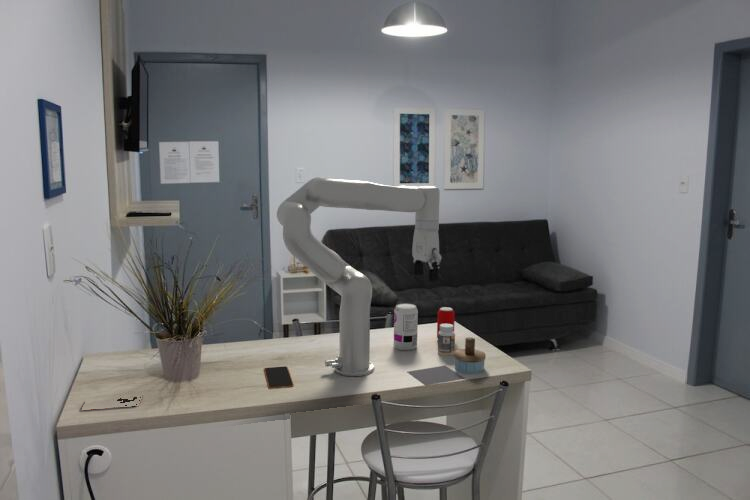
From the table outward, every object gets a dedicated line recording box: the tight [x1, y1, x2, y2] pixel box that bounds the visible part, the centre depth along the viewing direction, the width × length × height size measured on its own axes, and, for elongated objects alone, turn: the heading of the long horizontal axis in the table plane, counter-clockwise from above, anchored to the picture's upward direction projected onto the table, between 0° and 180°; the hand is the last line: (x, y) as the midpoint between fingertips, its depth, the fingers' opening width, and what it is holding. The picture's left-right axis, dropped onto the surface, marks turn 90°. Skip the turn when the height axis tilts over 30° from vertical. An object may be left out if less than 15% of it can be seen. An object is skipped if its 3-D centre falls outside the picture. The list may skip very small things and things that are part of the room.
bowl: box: [454, 358, 485, 374], centre depth 200 cm, size 9×9×4 cm
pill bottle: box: [437, 324, 456, 356], centre depth 214 cm, size 6×6×10 cm
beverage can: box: [436, 306, 456, 339], centre depth 228 cm, size 6×6×12 cm
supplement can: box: [393, 303, 419, 351], centre depth 219 cm, size 8×8×15 cm
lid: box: [453, 336, 486, 362], centre depth 199 cm, size 10×10×6 cm
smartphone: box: [263, 365, 295, 389], centre depth 191 cm, size 8×17×1 cm, turn 15°
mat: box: [406, 365, 466, 387], centre depth 194 cm, size 14×12×1 cm
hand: (425, 277), depth 202 cm, fingers open, 9 cm apart
